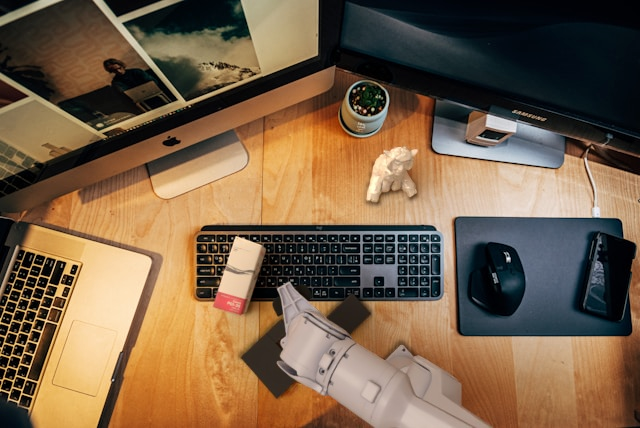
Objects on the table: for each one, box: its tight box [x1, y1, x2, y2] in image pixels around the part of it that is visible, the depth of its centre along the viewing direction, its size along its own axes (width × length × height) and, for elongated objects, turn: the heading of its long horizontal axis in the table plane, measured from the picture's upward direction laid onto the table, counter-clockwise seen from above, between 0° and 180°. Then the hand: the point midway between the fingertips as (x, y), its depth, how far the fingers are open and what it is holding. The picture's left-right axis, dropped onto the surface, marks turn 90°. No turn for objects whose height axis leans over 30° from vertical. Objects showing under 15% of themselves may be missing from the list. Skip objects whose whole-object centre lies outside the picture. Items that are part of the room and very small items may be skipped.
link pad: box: [325, 293, 372, 336], centre depth 76 cm, size 5×11×3 cm, turn 133°
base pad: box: [240, 318, 297, 400], centre depth 75 cm, size 9×9×3 cm
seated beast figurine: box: [365, 146, 419, 203], centre depth 76 cm, size 10×9×12 cm
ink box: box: [212, 236, 267, 316], centre depth 74 cm, size 9×5×12 cm
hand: (306, 325), depth 68 cm, fingers open, 7 cm apart
